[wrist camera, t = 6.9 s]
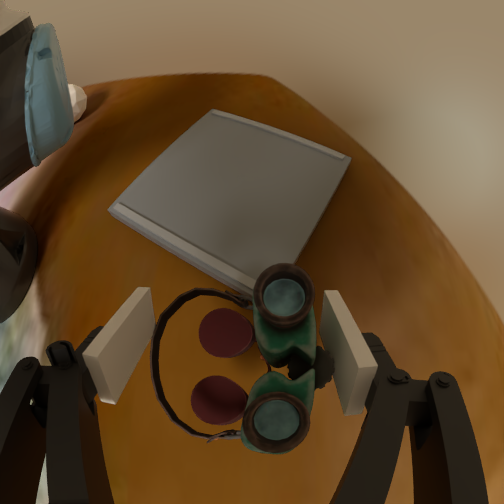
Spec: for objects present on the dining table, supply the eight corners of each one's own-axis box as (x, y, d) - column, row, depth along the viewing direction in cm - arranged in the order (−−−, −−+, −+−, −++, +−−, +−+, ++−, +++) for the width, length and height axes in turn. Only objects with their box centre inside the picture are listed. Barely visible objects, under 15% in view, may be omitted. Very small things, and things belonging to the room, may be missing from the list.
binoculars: (110, 233, 12) (350, 234, 10) (184, 307, 21) (321, 313, 20) (71, 437, 8) (347, 487, 6) (169, 424, 17) (316, 439, 15)
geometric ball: (80, 135, 42) (56, 126, 34) (55, 120, 42) (31, 111, 34) (101, 99, 41) (80, 85, 33) (75, 87, 41) (54, 73, 33)
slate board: (111, 215, 30) (106, 207, 28) (213, 115, 38) (212, 107, 36) (268, 308, 24) (268, 303, 23) (349, 165, 32) (352, 156, 31)
